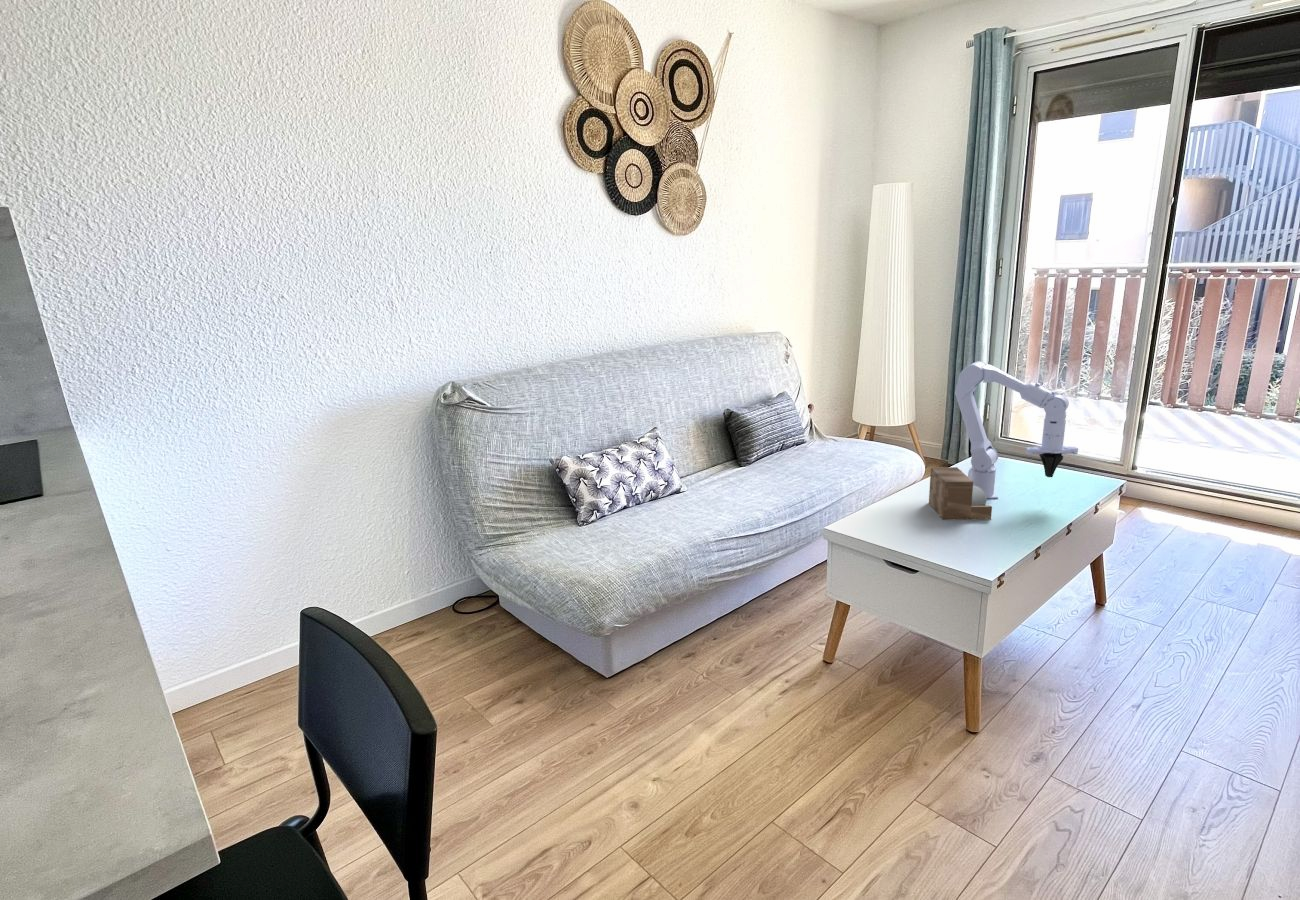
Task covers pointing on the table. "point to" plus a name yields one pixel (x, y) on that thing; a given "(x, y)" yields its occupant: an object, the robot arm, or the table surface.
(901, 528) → the table surface
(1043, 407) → the robot arm
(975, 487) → the ceramic mug
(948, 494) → the stepped wooden block
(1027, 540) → the table surface
